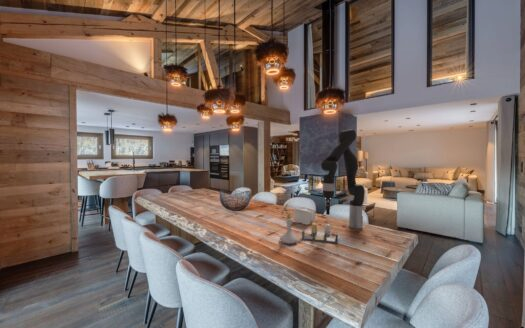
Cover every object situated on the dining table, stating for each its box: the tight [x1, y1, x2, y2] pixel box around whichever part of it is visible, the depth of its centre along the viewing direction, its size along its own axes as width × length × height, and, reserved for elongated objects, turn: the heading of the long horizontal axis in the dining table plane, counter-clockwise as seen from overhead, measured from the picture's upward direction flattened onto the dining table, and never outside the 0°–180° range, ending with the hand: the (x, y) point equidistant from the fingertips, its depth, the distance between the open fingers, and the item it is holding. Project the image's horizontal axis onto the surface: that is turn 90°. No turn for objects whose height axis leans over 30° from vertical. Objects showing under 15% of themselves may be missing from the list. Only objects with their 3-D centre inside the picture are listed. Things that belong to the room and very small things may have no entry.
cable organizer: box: [293, 206, 316, 226], centre depth 186 cm, size 15×11×12 cm
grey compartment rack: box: [301, 228, 339, 245], centre depth 148 cm, size 22×6×6 cm, turn 75°
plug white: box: [324, 223, 331, 237], centre depth 158 cm, size 4×4×7 cm
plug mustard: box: [311, 222, 318, 236], centre depth 160 cm, size 4×4×7 cm
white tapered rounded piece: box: [279, 203, 299, 245], centre depth 143 cm, size 13×11×25 cm
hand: (327, 212), depth 158 cm, fingers open, 8 cm apart
